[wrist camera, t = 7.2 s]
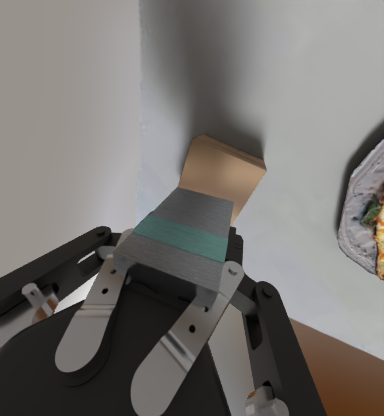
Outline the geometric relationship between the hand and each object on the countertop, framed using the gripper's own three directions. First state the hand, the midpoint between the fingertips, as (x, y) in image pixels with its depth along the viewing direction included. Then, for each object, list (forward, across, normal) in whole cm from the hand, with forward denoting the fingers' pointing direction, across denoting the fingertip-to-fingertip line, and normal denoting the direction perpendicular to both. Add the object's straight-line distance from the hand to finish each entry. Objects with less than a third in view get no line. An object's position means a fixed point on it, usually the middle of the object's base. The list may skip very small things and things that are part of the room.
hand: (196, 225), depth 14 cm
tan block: (+13, 0, 0) cm, 13 cm away
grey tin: (+1, 0, 0) cm, 1 cm away
